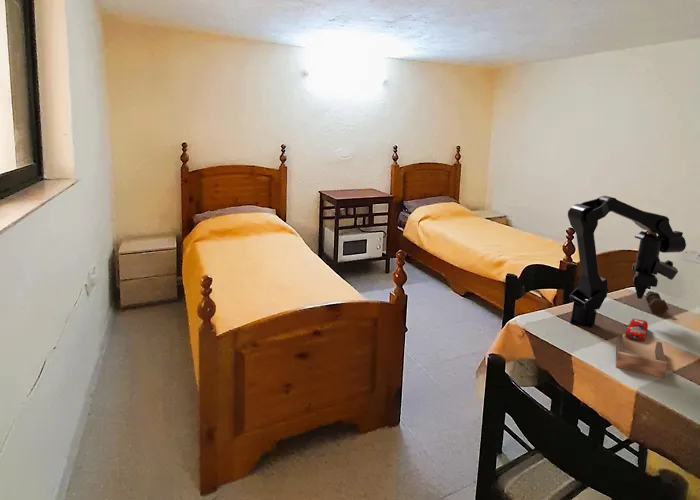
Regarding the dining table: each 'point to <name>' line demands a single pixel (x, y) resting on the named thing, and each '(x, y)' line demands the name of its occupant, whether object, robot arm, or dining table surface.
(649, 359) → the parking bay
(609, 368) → the dining table surface
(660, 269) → the robot arm
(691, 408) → the dining table surface
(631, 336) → the race car
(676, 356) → the dining table surface
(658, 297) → the bolt
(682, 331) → the dining table surface
